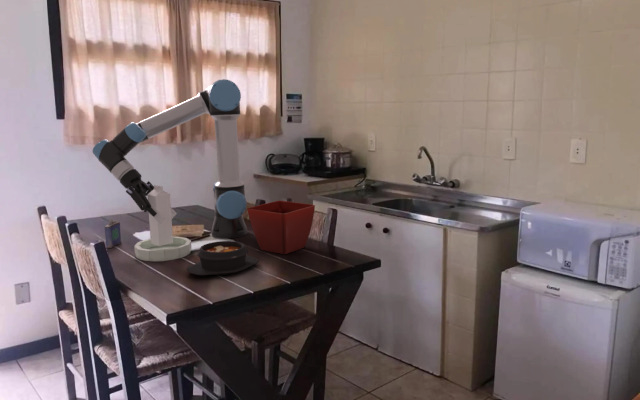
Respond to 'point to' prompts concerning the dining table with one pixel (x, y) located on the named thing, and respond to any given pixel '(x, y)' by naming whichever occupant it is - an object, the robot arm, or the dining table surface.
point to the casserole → (222, 259)
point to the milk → (162, 203)
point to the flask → (112, 234)
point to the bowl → (163, 250)
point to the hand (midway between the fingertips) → (168, 218)
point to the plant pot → (281, 225)
